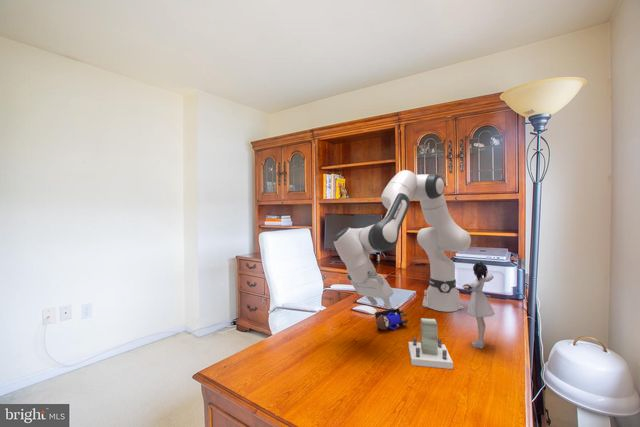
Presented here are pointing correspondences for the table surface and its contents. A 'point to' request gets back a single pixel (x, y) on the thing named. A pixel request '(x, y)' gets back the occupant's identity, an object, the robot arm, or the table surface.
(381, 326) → the character figurine
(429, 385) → the table surface
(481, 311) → the figurine
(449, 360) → the display base
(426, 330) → the sage block
